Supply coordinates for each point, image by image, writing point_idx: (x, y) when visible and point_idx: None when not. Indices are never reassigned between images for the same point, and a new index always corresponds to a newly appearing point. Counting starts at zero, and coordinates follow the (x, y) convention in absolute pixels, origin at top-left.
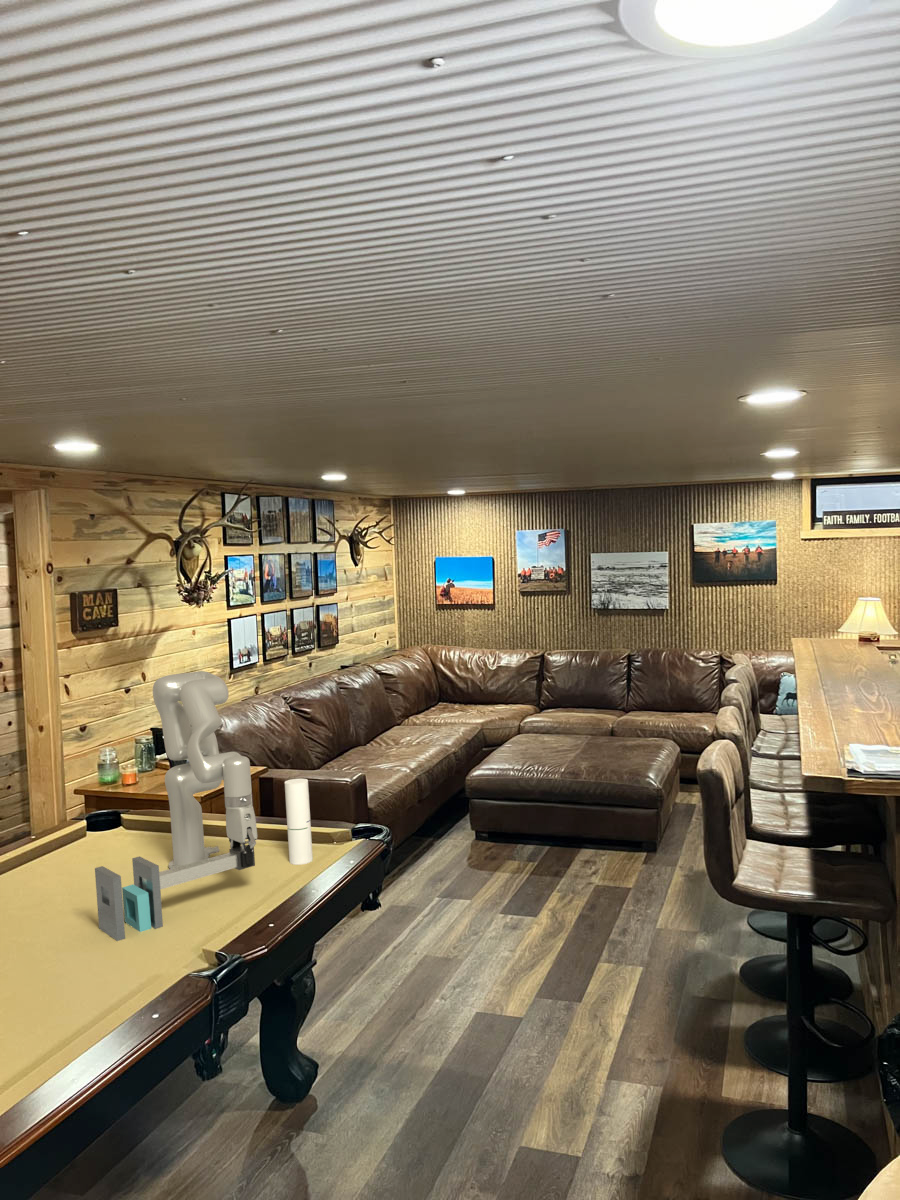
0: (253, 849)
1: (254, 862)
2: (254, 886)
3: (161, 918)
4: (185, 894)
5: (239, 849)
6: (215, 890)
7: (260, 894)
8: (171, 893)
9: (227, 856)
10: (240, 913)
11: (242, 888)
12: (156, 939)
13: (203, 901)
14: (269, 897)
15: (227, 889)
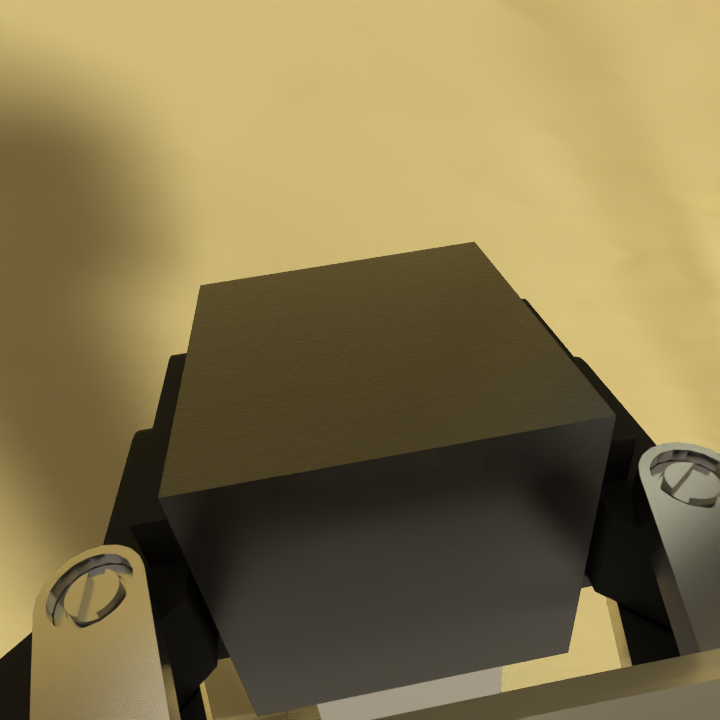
0: (602, 408)
1: (492, 269)
2: (224, 96)
3: (500, 690)
4: (84, 548)
5: (420, 620)
6: (116, 399)
7: (484, 143)
8: (11, 598)
9: (462, 696)
10: (675, 385)
11: (207, 216)
12: (585, 667)
13: None
14: (618, 108)
15: (149, 324)
